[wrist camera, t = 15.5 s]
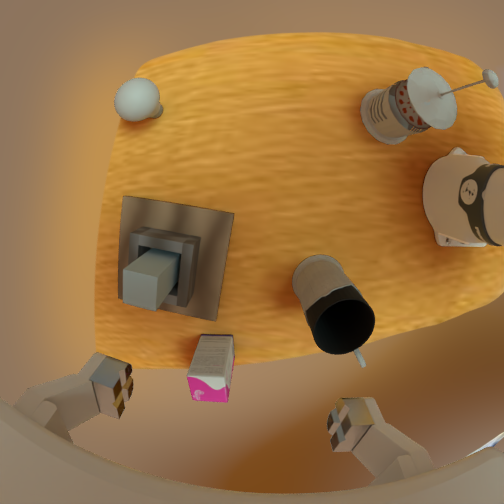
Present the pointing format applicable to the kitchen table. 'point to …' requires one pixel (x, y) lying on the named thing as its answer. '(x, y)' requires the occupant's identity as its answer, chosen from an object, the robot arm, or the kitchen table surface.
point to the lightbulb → (138, 100)
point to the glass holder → (333, 306)
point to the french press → (413, 105)
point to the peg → (151, 278)
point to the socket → (179, 250)
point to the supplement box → (212, 368)
